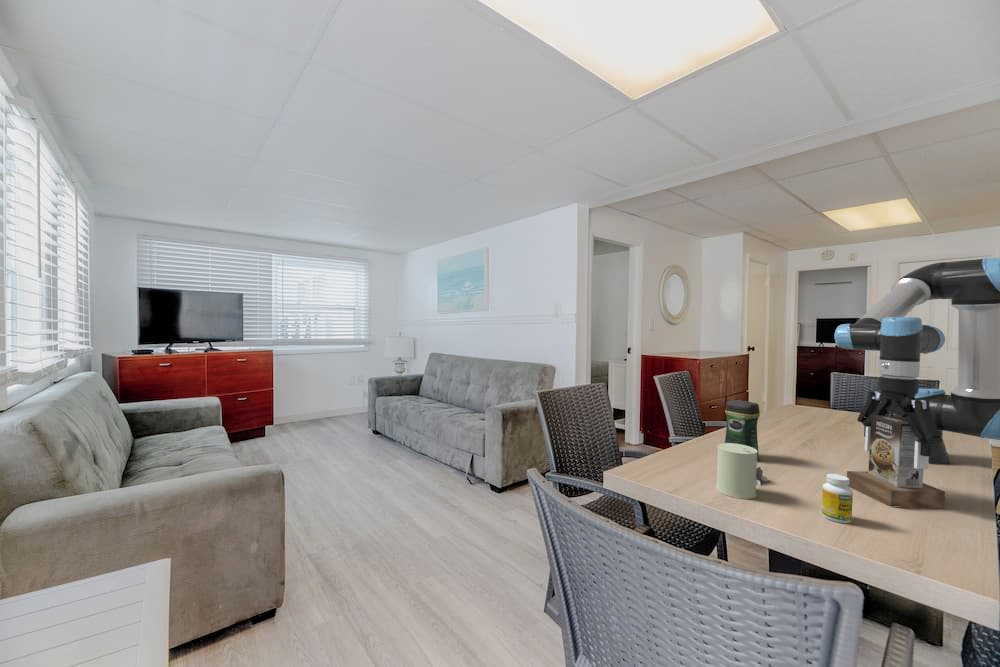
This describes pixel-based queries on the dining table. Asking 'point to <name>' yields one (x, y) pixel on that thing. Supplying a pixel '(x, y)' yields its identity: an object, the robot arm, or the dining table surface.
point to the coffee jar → (742, 423)
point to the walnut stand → (896, 492)
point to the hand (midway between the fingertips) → (894, 458)
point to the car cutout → (760, 476)
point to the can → (736, 470)
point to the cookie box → (893, 452)
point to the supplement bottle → (837, 499)
